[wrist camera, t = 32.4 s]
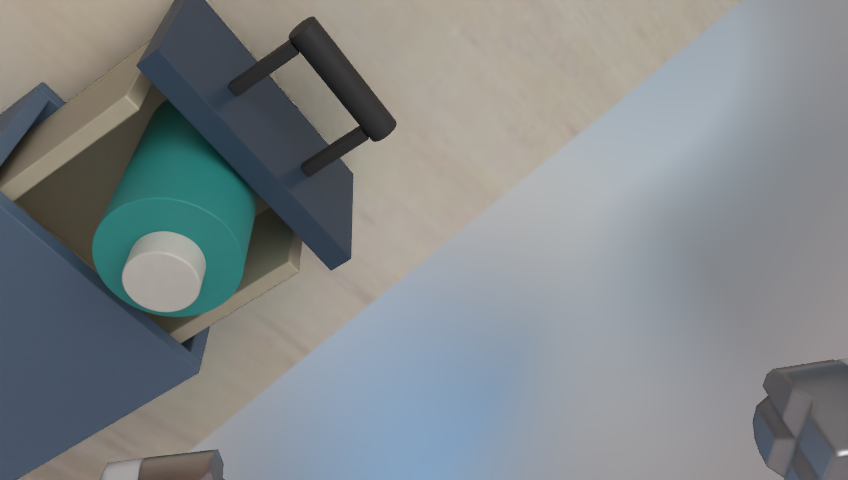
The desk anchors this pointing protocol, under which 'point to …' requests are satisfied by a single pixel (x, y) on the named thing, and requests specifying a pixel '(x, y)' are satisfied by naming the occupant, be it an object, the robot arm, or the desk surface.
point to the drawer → (223, 128)
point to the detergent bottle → (175, 223)
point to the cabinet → (67, 333)
